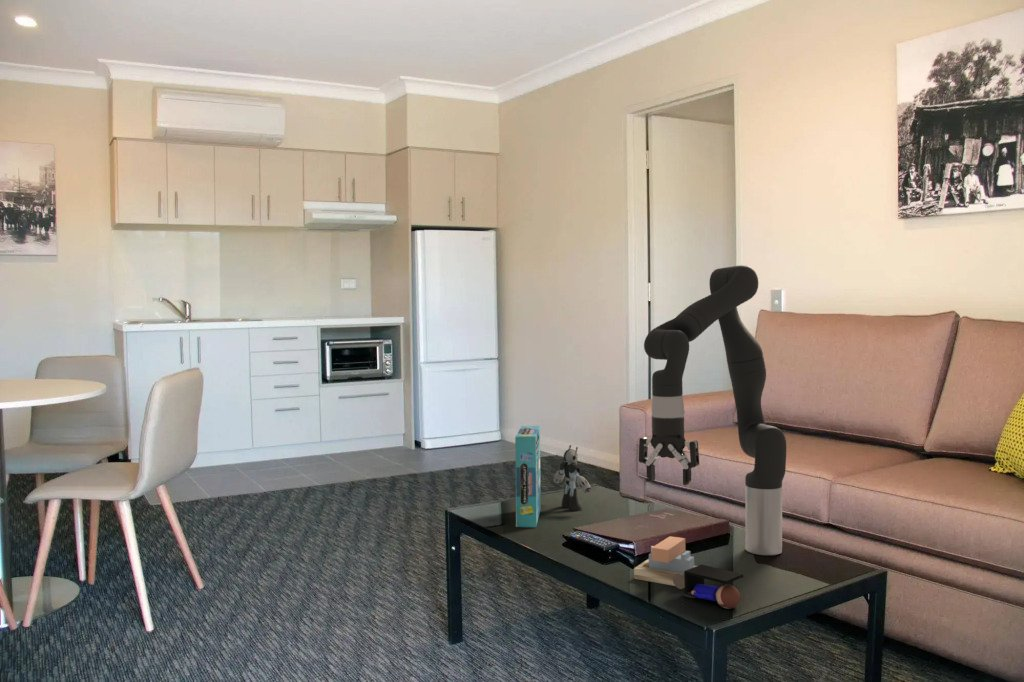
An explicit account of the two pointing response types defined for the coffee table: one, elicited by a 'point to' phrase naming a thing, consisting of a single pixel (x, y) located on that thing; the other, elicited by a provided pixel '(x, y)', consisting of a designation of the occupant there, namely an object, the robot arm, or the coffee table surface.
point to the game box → (528, 476)
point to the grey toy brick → (673, 563)
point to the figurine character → (695, 584)
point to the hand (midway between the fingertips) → (668, 482)
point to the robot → (571, 480)
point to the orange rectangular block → (668, 549)
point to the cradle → (653, 574)
